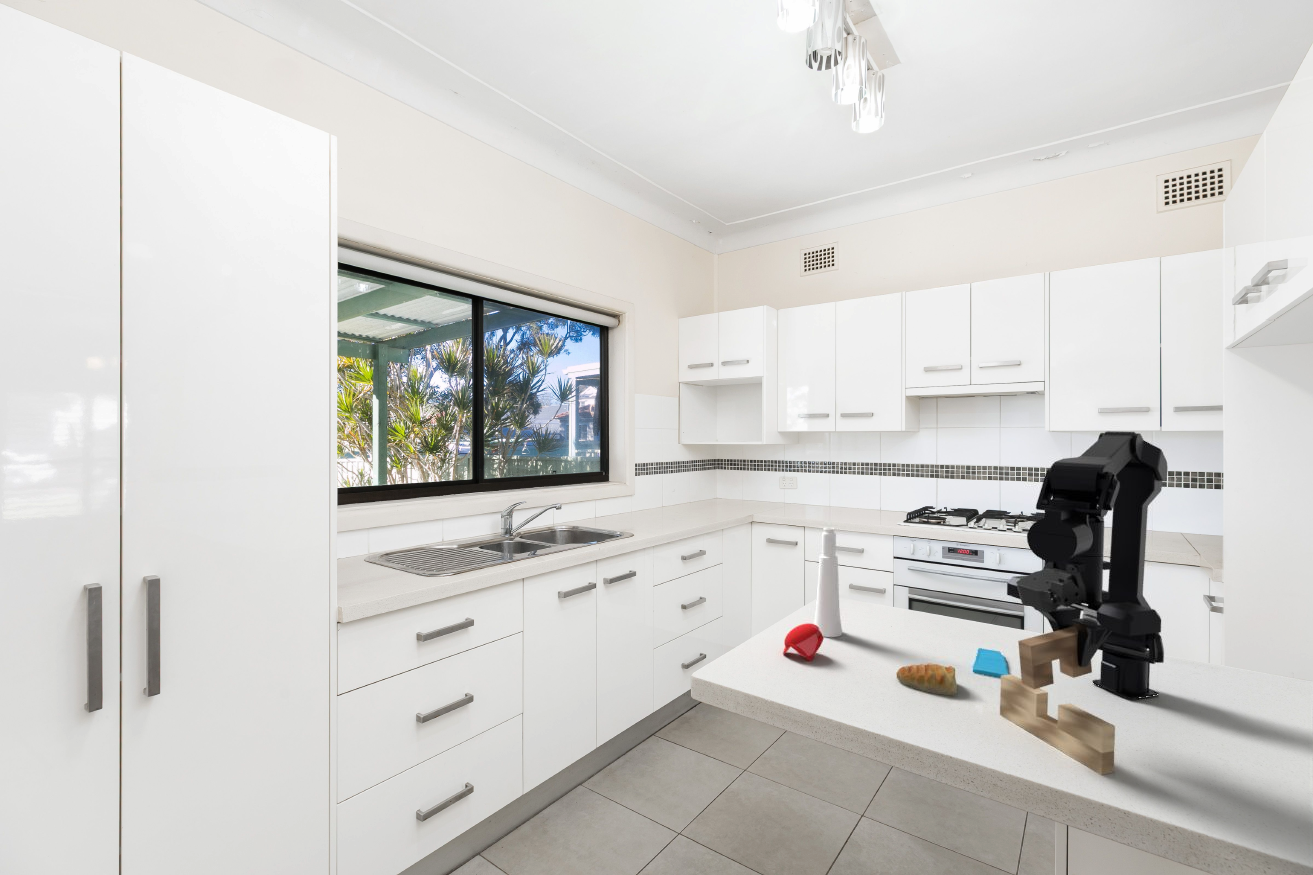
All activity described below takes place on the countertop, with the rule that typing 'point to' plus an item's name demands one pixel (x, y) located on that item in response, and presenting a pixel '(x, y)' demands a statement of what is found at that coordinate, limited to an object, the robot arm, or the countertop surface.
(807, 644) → the red rounded piece
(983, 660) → the sponge
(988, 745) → the countertop surface
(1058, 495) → the robot arm
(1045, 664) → the walnut slot plate
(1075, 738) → the oak slot board
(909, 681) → the pastry
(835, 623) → the cosmetic bottle
